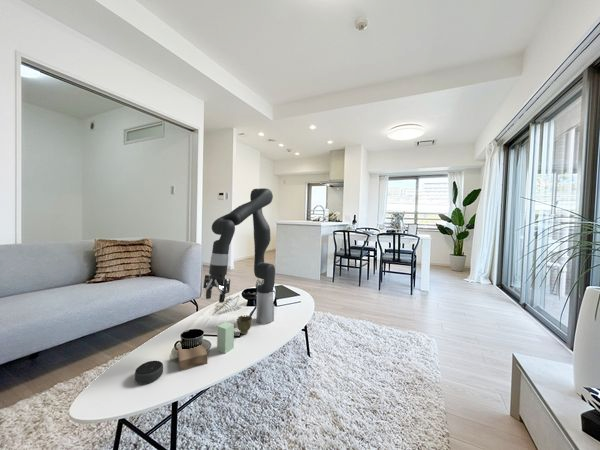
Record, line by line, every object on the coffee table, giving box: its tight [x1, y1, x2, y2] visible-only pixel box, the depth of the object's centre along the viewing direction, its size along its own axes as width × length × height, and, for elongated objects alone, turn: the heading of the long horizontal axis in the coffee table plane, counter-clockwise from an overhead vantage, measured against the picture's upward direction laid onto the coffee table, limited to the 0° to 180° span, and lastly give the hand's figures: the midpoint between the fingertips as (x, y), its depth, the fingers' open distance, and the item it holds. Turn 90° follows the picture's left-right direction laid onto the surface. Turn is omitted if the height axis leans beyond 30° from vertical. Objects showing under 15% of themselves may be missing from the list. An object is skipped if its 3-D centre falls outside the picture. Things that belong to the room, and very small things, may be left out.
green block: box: [216, 321, 235, 354], centre depth 109 cm, size 5×5×11 cm
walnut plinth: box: [177, 342, 208, 372], centre depth 100 cm, size 10×10×4 cm
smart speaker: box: [134, 360, 164, 385], centre depth 90 cm, size 9×9×4 cm
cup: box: [236, 315, 253, 336], centre depth 124 cm, size 8×7×8 cm
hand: (214, 300), depth 107 cm, fingers open, 8 cm apart
